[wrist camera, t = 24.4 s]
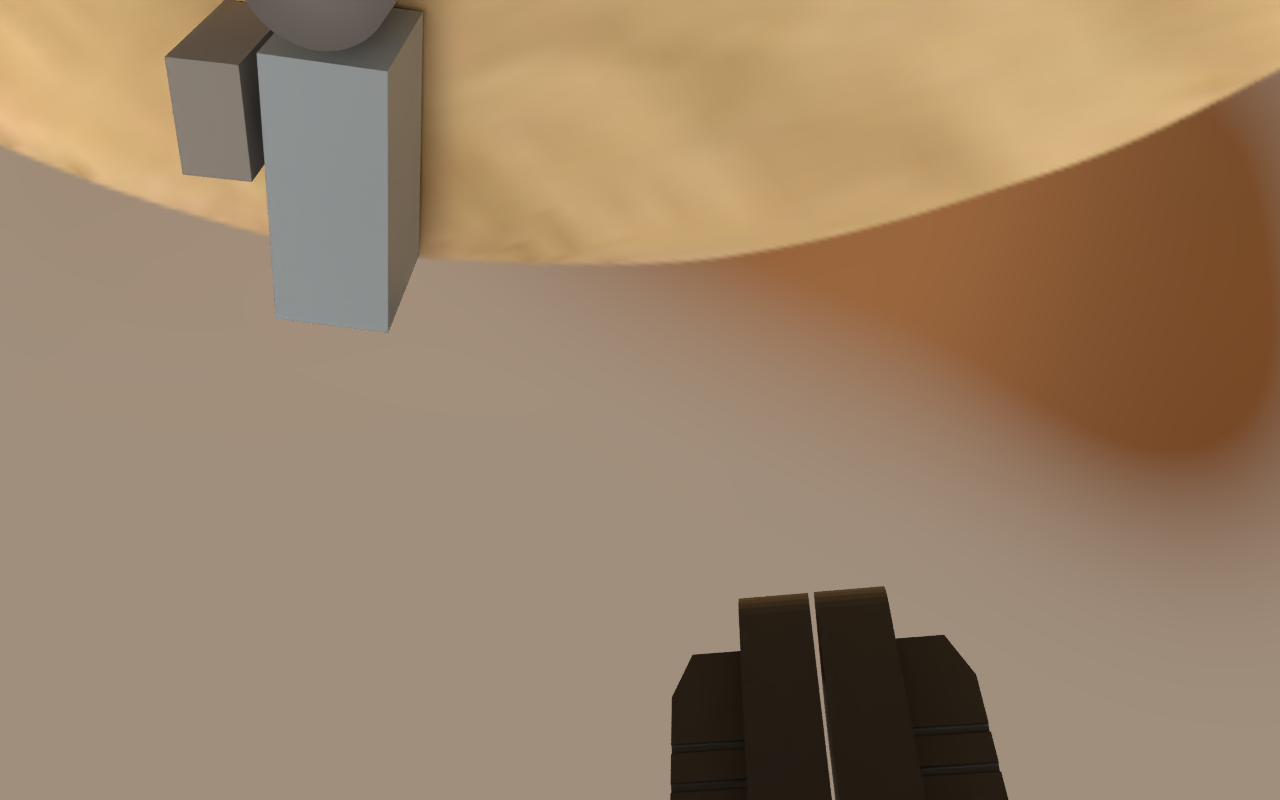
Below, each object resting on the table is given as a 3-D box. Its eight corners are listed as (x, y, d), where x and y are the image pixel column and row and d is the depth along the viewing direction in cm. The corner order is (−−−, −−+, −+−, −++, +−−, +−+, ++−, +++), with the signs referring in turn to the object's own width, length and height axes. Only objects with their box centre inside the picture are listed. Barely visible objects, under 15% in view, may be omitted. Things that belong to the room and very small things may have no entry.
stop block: (238, 107, 37) (183, 174, 33) (225, -1, 35) (164, 56, 31) (299, 114, 37) (251, 182, 33) (290, 7, 35) (238, 65, 31)
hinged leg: (291, -169, 32) (226, -125, 27) (435, -147, 32) (393, -100, 27) (311, 240, 39) (262, 326, 35) (425, 255, 39) (392, 343, 35)
